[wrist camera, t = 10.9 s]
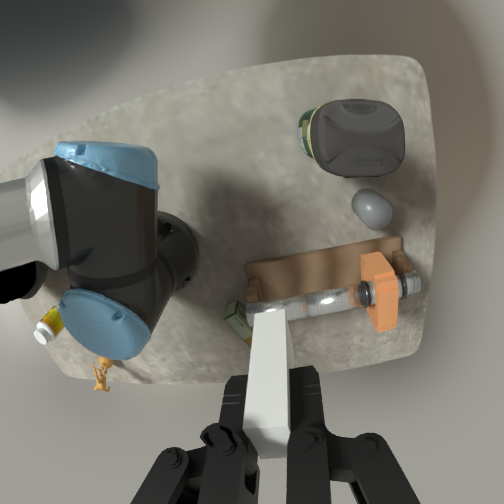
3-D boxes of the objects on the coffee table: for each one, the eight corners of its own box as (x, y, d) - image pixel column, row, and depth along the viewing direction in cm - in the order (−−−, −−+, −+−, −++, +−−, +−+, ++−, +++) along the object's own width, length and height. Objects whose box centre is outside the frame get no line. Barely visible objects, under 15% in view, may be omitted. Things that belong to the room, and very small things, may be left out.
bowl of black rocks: (43, 179, 45) (-25, 209, 28) (80, 266, 53) (27, 319, 36) (0, 211, 49) (-54, 242, 31) (32, 283, 56) (-13, 326, 39)
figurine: (96, 343, 62) (74, 376, 51) (114, 343, 61) (93, 378, 50) (110, 366, 65) (92, 399, 54) (128, 367, 64) (111, 402, 54)
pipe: (253, 317, 46) (251, 333, 42) (246, 296, 45) (244, 312, 41) (411, 285, 42) (421, 299, 38) (412, 264, 40) (422, 277, 37)
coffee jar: (357, 106, 37) (411, 98, 20) (361, 157, 40) (415, 181, 24) (294, 108, 38) (309, 96, 22) (299, 160, 42) (318, 185, 25)
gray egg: (353, 219, 45) (363, 233, 39) (349, 191, 43) (360, 201, 38) (380, 214, 44) (393, 227, 39) (377, 186, 42) (391, 195, 37)
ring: (362, 300, 47) (377, 337, 38) (359, 250, 43) (378, 282, 34) (378, 297, 46) (396, 332, 38) (377, 247, 43) (399, 277, 34)
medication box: (225, 305, 54) (222, 318, 50) (237, 298, 53) (234, 312, 49) (261, 345, 57) (260, 358, 54) (272, 340, 57) (272, 354, 53)
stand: (257, 306, 53) (255, 329, 47) (245, 264, 49) (241, 284, 43) (398, 278, 49) (412, 298, 43) (398, 234, 45) (414, 250, 39)
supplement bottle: (55, 299, 57) (32, 324, 48) (72, 314, 59) (50, 340, 49) (51, 312, 60) (30, 336, 50) (67, 325, 61) (47, 351, 51)
